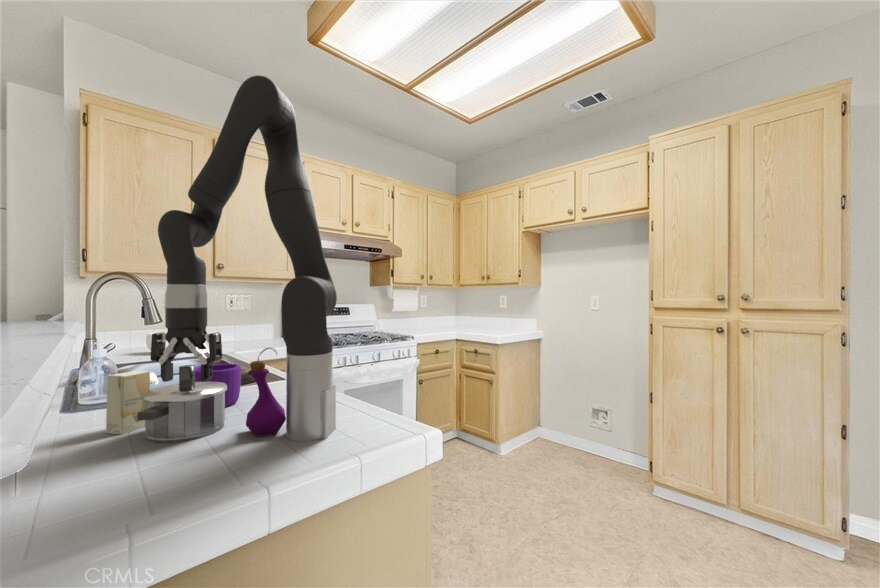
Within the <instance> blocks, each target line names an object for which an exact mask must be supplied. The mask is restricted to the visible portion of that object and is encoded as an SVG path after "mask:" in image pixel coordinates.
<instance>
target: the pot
mask: <svg viewBox="0 0 880 588" xmlns="http://www.w3.org/2000/svg"><path fill="white" fill-rule="evenodd" d="M225 411H226V407H225V392H223V393H221V394H219V395H216V396H213V397H209V398H204V399H199V400H194V401H187V402H177V403H149V402H145V410H143V411H140V412H138V419H137V420H145V427H144V433H145V439H146V441H148V442H152V443H158V444H159V443H160V444H161V443H163V444H165V443H167V444H168V443H169V444H171V443H181V442H188V441H193V440H196V439H200V438H204V437H207V436H210V435H212V434H213V435H214V434H216V433H217V432H219V431H221V430H222V429H223V428H224V427H225V421H226V419H225V418H226V412H225Z"/></svg>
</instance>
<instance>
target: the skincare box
mask: <svg viewBox="0 0 880 588" xmlns="http://www.w3.org/2000/svg"><path fill="white" fill-rule="evenodd" d="M150 372H151V371H147V370H133V371H128V372H121V373H114V374H109V375H107V378H106V380H107V383H106V385H107V386H106V418H105V419H106V420H105V423H106V424H105V433H106V434H114V435H124V434H125V435H126V434H127V433H131V432H133V431H137V430H140V429H143V428H145V420H137V419H138V412H140V411H143V410H145V401H143V394H144V393H145V392H147V391H149V390H151V388H150V387H151V386H150V385H151V384H150Z"/></svg>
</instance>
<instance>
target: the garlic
mask: <svg viewBox="0 0 880 588" xmlns="http://www.w3.org/2000/svg"><path fill="white" fill-rule="evenodd" d="M149 372H150V385H153V386H158V384H159V379H158V376H157V375H156V374H155V373H154V372H152V371H149Z"/></svg>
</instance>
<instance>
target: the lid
mask: <svg viewBox="0 0 880 588" xmlns="http://www.w3.org/2000/svg"><path fill="white" fill-rule="evenodd" d="M195 368H196V366H195V364H185V365H180V366H179V367H178V383H176V384H175V383H174V384H168V385H163V386H160V387H156V388H155V387H154V388H152V389H150V390H149V391H147V392H145V393H144V394H143V401H145V402H149V403H177V402H187V401H194V400H199V399H204V398H209V397H213V396H216V395H219V394H221V393H223V392H225V391H226V390H227V384H225V383H222V382H209V381H207V382H195Z"/></svg>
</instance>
